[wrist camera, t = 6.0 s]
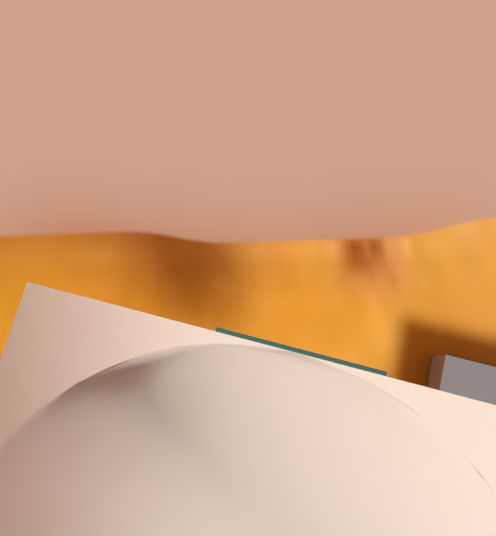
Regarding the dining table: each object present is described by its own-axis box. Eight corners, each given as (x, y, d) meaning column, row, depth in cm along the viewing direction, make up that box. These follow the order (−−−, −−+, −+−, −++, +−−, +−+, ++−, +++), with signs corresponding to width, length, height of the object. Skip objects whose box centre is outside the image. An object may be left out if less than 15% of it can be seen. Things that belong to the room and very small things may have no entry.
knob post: (330, 514, 15) (529, 1363, 2) (201, 473, 16) (-210, 951, 3) (359, 376, 16) (629, 425, 3) (236, 343, 16) (31, 270, 4)
